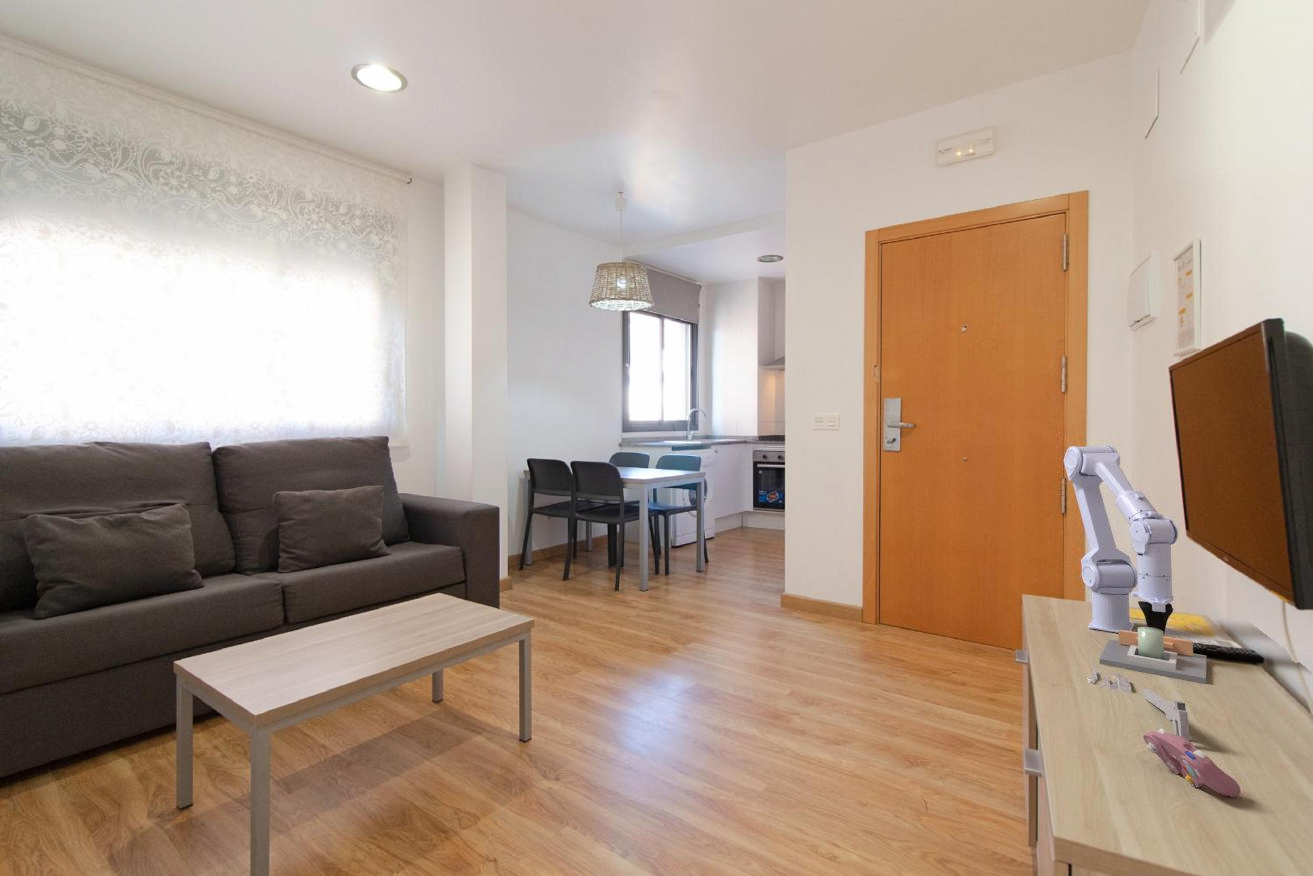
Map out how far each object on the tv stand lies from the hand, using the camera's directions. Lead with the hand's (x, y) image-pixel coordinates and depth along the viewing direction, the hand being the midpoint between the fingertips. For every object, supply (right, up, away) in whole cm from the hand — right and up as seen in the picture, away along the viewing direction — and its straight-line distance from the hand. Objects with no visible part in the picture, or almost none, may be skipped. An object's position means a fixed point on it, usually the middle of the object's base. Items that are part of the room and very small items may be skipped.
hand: (1156, 637), depth 130 cm
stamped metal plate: (-22, -4, -15) cm, 27 cm away
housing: (-6, -3, -7) cm, 10 cm away
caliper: (-24, -4, -30) cm, 39 cm away
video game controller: (-35, -4, -48) cm, 59 cm away
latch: (-3, -1, -3) cm, 5 cm away
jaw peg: (-8, -2, -8) cm, 12 cm away
